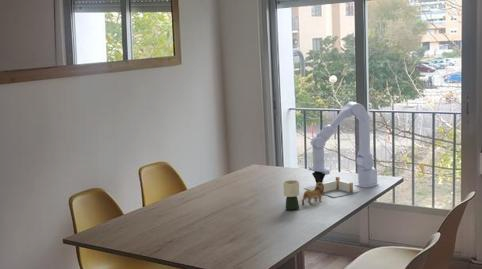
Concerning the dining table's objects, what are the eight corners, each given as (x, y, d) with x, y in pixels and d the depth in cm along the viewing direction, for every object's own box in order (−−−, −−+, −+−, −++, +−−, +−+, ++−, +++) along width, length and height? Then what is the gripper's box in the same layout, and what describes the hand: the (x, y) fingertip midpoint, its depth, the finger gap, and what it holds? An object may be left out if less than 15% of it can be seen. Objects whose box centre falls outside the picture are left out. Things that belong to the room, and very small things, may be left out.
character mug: (304, 211, 276) (303, 183, 274) (290, 213, 274) (288, 185, 271) (294, 205, 286) (293, 178, 284) (280, 207, 284) (279, 180, 282)
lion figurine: (318, 198, 295) (318, 180, 293) (327, 200, 291) (326, 182, 289) (298, 205, 285) (297, 187, 283) (307, 207, 281) (306, 188, 280)
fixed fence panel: (335, 188, 310) (334, 177, 309) (338, 187, 311) (337, 176, 310) (350, 193, 300) (350, 181, 299) (354, 192, 301) (353, 180, 300)
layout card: (328, 183, 322) (328, 182, 322) (359, 192, 302) (359, 191, 302) (304, 188, 314) (304, 188, 314) (334, 198, 294) (334, 197, 294)
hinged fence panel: (334, 187, 310) (334, 178, 309) (337, 188, 308) (336, 179, 308) (319, 192, 304) (318, 182, 303) (321, 192, 302) (320, 183, 302)
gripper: (303, 159, 311) (304, 184, 314) (321, 163, 299) (322, 190, 301) (314, 157, 315) (315, 182, 317) (332, 161, 303) (333, 187, 305)
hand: (319, 186), depth 309 cm, fingers closed
